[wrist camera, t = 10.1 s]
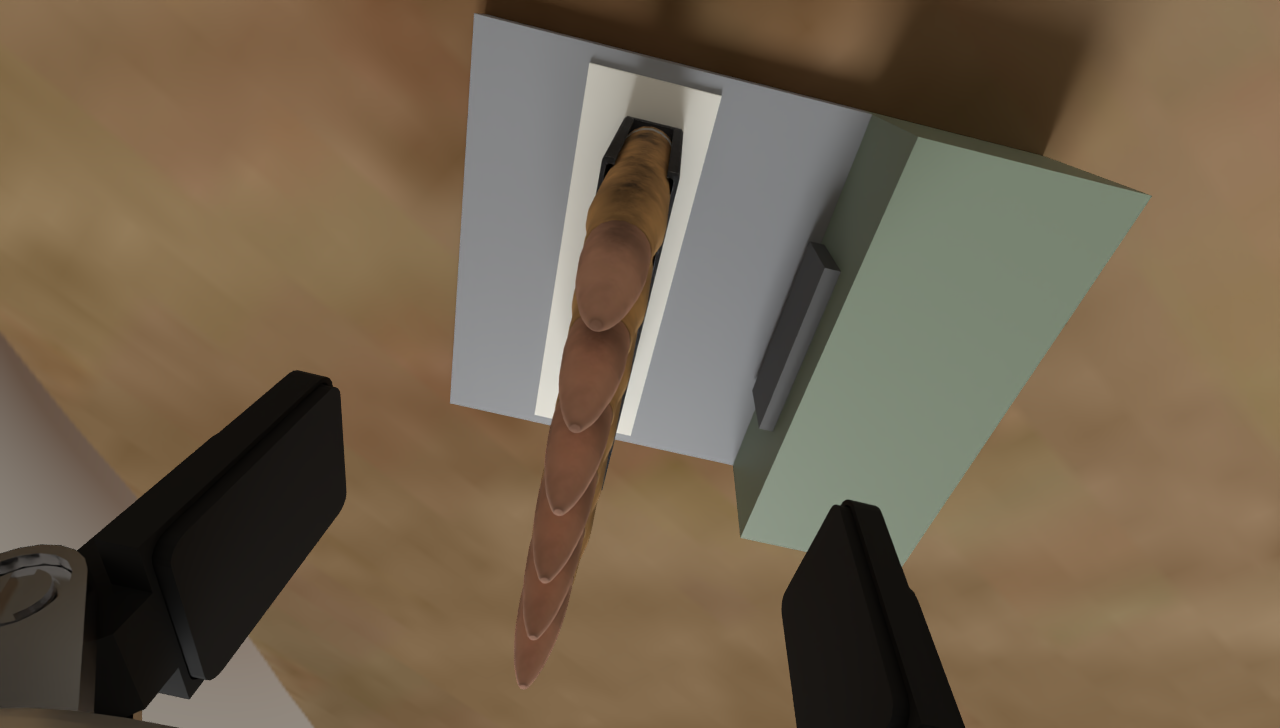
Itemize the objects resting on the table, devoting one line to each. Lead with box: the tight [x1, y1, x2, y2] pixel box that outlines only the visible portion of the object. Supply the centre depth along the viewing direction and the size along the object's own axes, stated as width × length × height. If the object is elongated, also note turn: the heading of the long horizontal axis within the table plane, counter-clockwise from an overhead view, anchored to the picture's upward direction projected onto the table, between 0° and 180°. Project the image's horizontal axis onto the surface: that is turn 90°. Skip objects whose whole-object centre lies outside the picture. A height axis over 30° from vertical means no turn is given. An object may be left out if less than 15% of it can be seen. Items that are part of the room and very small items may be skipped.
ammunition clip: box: [514, 116, 683, 689], centre depth 15 cm, size 11×2×12 cm, turn 168°
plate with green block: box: [450, 13, 1152, 567], centre depth 19 cm, size 18×14×5 cm
